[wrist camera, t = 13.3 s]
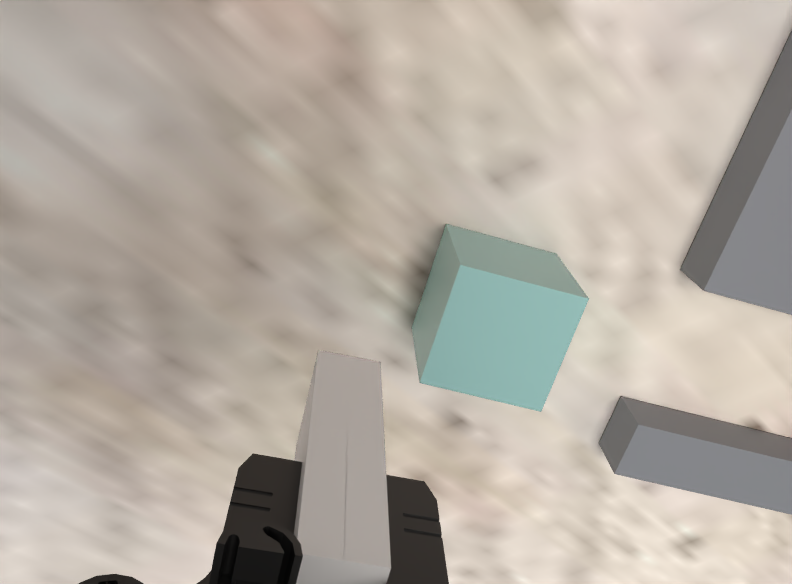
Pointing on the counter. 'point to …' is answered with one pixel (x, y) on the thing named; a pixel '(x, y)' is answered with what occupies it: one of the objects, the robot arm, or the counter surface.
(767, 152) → the grey flat pieces
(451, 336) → the teal cube block
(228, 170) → the counter surface
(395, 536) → the robot arm
